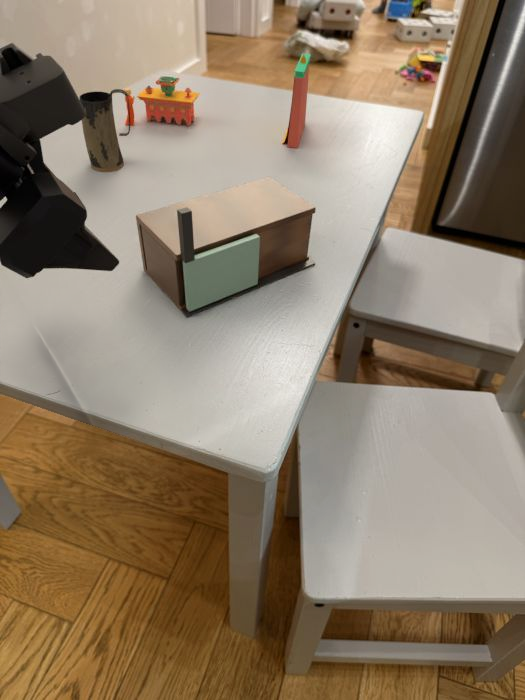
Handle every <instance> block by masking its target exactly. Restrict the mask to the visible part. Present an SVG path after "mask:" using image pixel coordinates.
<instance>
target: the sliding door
mask: <svg viewBox="0 0 525 700" xmlns="http://www.w3.org/2000/svg"><path fill="white" fill-rule="evenodd" d="M177 217H178V229H179V240H180V252H181V260H182V261H183V273H184V286H185V298H186V308H187V310H188V311H189V312H190V311H193V310H195V309H198V308H200V307H203V306H205V305H207V304H210V303H212V302H215V301H217V300H220V299H222V298H225V297H227V296H230V295H232V294H235V293H237V292H239V291H242V290H244V289H247V288H249V287H252V286H254V285H257V284H258V268H259V247H260V236H258V235H257V234H254V235H251V236H248V237H245V238H243V239H240V240H237V241H234V242H231V243H228V244H225V245H223V246H220V247H217V248H214V249H211V250H208V251H206V252H203V253H200V254H197V255H194V239H193V223H192V211H191V210H190V209H189V208H188V207H185V208H182V209H178V210H177Z"/></svg>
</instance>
